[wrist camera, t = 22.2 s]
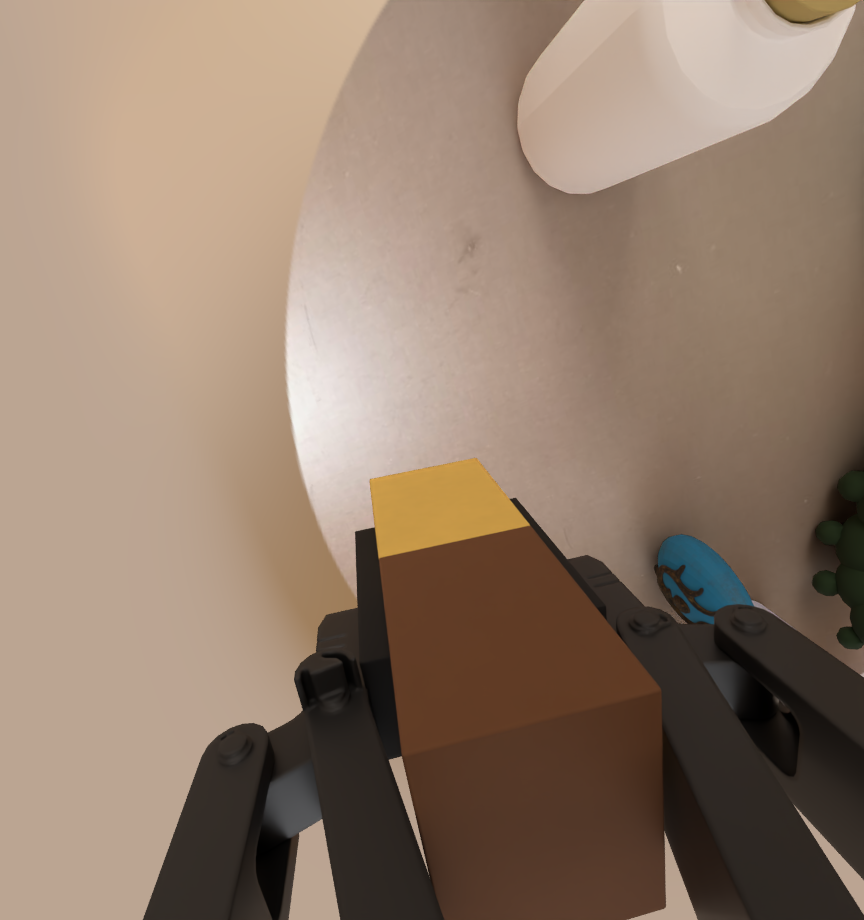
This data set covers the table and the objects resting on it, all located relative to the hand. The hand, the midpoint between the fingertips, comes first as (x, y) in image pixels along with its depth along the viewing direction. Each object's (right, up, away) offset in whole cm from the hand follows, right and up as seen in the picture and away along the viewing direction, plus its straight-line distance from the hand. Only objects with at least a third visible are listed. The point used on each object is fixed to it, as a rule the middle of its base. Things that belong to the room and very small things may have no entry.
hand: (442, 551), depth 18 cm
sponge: (0, 0, +2) cm, 2 cm away
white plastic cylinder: (+9, +24, +14) cm, 29 cm away
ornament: (+19, -5, +25) cm, 32 cm away
